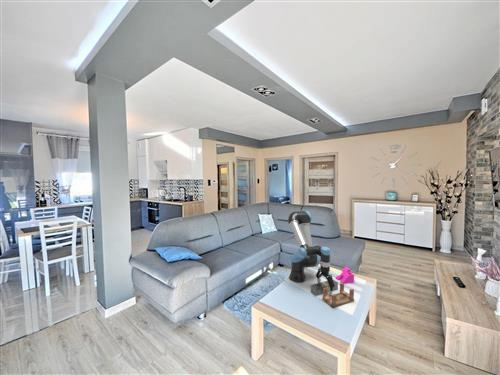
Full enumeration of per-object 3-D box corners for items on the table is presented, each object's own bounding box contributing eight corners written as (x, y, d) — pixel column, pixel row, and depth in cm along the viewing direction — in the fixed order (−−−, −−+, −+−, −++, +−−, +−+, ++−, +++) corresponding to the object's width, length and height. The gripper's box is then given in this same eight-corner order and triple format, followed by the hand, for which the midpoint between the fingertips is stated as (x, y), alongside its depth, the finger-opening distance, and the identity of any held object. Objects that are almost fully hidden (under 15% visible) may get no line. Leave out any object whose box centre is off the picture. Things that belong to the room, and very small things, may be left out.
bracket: (346, 277, 202) (347, 267, 201) (353, 282, 192) (354, 272, 191) (335, 278, 200) (335, 268, 199) (342, 284, 190) (342, 273, 189)
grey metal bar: (315, 295, 172) (315, 288, 171) (310, 292, 178) (310, 284, 177) (337, 289, 181) (338, 282, 181) (332, 285, 187) (332, 279, 186)
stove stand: (322, 299, 166) (322, 288, 166) (342, 293, 175) (343, 282, 174) (332, 308, 156) (332, 296, 156) (354, 301, 165) (354, 289, 164)
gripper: (311, 260, 188) (311, 283, 189) (332, 273, 165) (332, 298, 166) (318, 259, 191) (317, 281, 192) (339, 271, 168) (339, 296, 169)
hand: (324, 289), depth 179 cm, fingers open, 13 cm apart
